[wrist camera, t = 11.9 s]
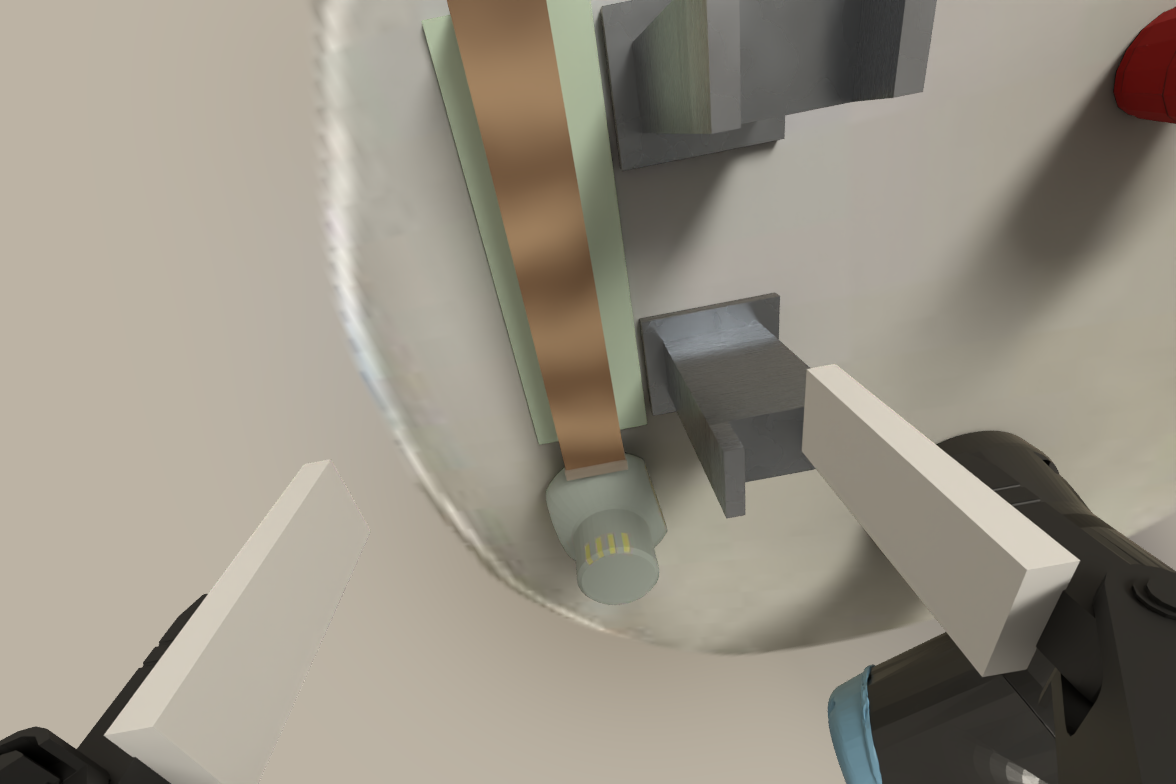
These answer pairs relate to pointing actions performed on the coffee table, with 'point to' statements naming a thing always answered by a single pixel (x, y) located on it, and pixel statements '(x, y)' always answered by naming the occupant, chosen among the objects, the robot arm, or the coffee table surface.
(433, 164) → the coffee table surface
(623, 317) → the mat
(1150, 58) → the plastic cup
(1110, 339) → the coffee table surface
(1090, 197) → the coffee table surface
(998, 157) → the coffee table surface
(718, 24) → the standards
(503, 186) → the rail
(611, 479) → the air freshener
